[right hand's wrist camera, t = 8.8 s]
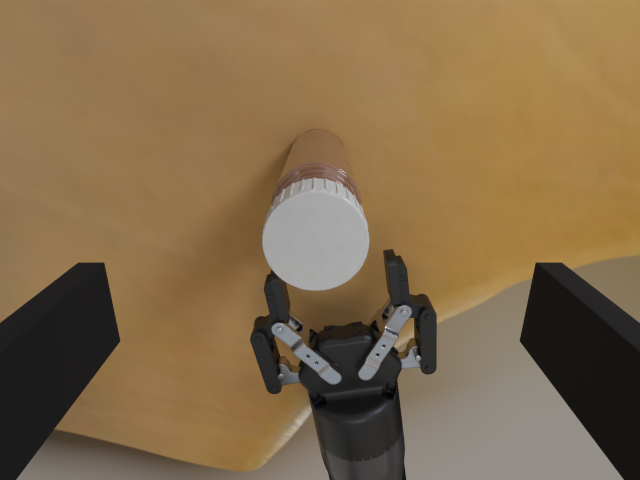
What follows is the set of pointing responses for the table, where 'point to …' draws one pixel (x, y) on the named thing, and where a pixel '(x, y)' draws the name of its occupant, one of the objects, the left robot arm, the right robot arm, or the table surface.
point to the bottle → (317, 162)
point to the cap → (315, 235)
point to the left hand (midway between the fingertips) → (331, 261)
